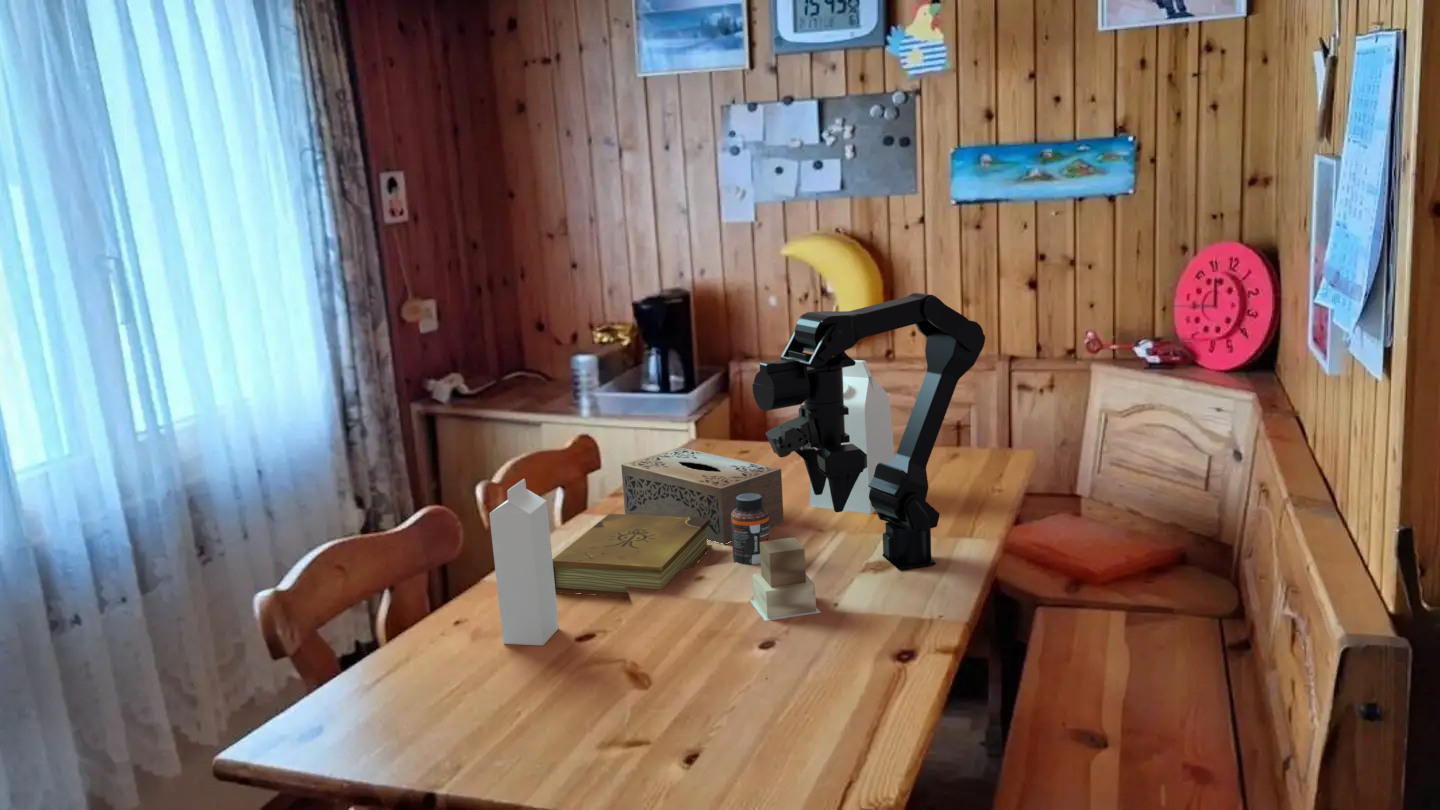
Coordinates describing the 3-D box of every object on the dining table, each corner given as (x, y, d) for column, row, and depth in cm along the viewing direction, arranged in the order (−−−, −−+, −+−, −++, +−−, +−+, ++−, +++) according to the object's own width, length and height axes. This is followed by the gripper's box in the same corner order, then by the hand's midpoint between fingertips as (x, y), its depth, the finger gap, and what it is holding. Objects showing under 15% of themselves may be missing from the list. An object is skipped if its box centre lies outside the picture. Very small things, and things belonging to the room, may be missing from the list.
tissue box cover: (783, 524, 211) (781, 468, 208) (724, 546, 201) (720, 488, 199) (684, 498, 229) (680, 447, 227) (625, 517, 219) (621, 464, 217)
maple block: (800, 593, 174) (799, 567, 173) (816, 611, 168) (814, 584, 167) (754, 600, 173) (752, 574, 172) (767, 618, 166) (765, 591, 165)
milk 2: (897, 495, 222) (893, 356, 216) (870, 514, 212) (865, 368, 207) (838, 488, 228) (833, 353, 222) (809, 506, 219) (803, 364, 213)
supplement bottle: (768, 572, 187) (764, 502, 185) (730, 572, 188) (726, 502, 186) (774, 559, 193) (770, 490, 190) (737, 558, 194) (733, 490, 192)
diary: (607, 545, 206) (605, 513, 205) (712, 551, 200) (710, 517, 199) (549, 595, 185) (545, 559, 183) (664, 602, 179) (661, 565, 178)
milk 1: (502, 644, 166) (485, 490, 162) (520, 626, 172) (503, 477, 167) (544, 646, 165) (527, 491, 160) (560, 628, 171) (544, 477, 166)
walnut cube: (795, 570, 172) (793, 537, 171) (806, 582, 167) (804, 548, 166) (761, 575, 171) (759, 542, 170) (771, 587, 166) (769, 553, 165)
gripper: (753, 393, 182) (758, 493, 186) (789, 419, 164) (794, 529, 168) (823, 385, 185) (827, 484, 188) (866, 410, 167) (870, 518, 170)
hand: (828, 503), depth 178 cm, fingers open, 9 cm apart
